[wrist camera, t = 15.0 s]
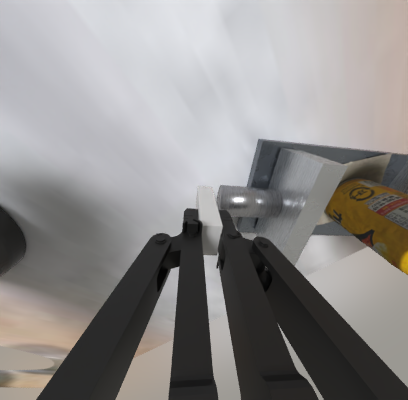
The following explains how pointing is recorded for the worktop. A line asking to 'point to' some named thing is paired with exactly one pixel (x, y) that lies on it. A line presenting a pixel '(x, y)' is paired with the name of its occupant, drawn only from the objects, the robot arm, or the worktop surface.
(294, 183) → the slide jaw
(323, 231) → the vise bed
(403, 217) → the condiment
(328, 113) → the worktop surface
